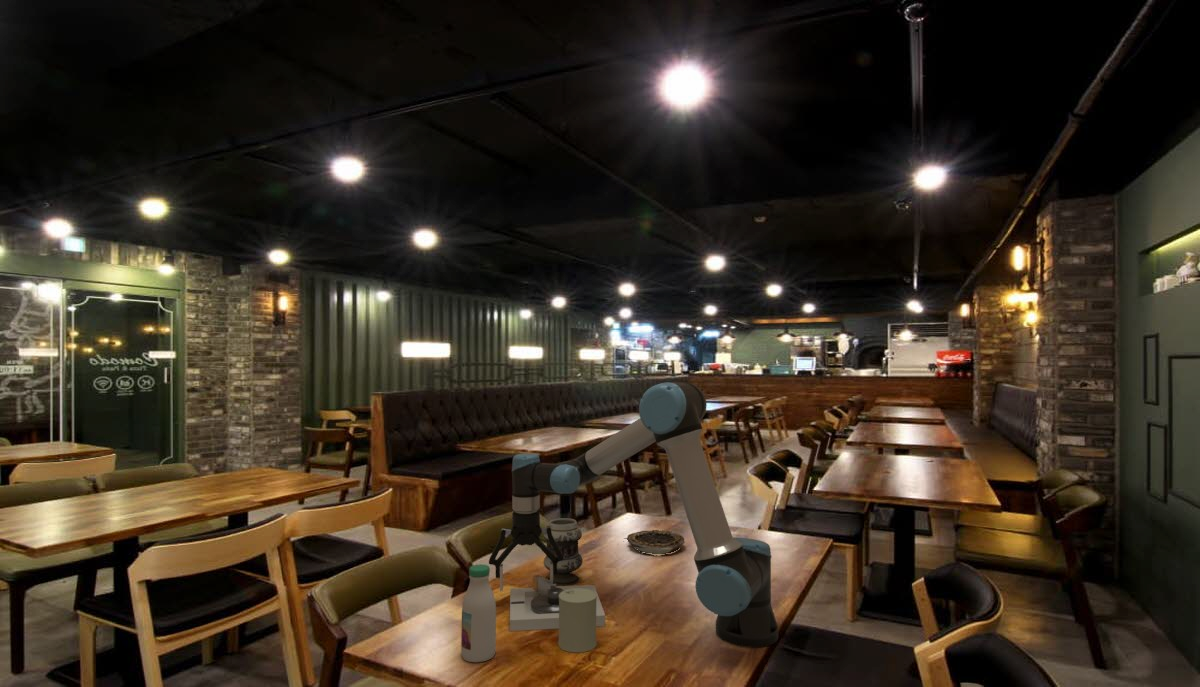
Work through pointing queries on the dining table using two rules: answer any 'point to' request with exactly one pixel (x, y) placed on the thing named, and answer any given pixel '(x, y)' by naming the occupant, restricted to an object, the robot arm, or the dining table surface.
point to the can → (577, 620)
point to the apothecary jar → (565, 550)
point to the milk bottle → (478, 617)
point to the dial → (545, 596)
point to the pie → (655, 541)
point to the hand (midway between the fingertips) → (526, 588)
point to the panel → (530, 620)
